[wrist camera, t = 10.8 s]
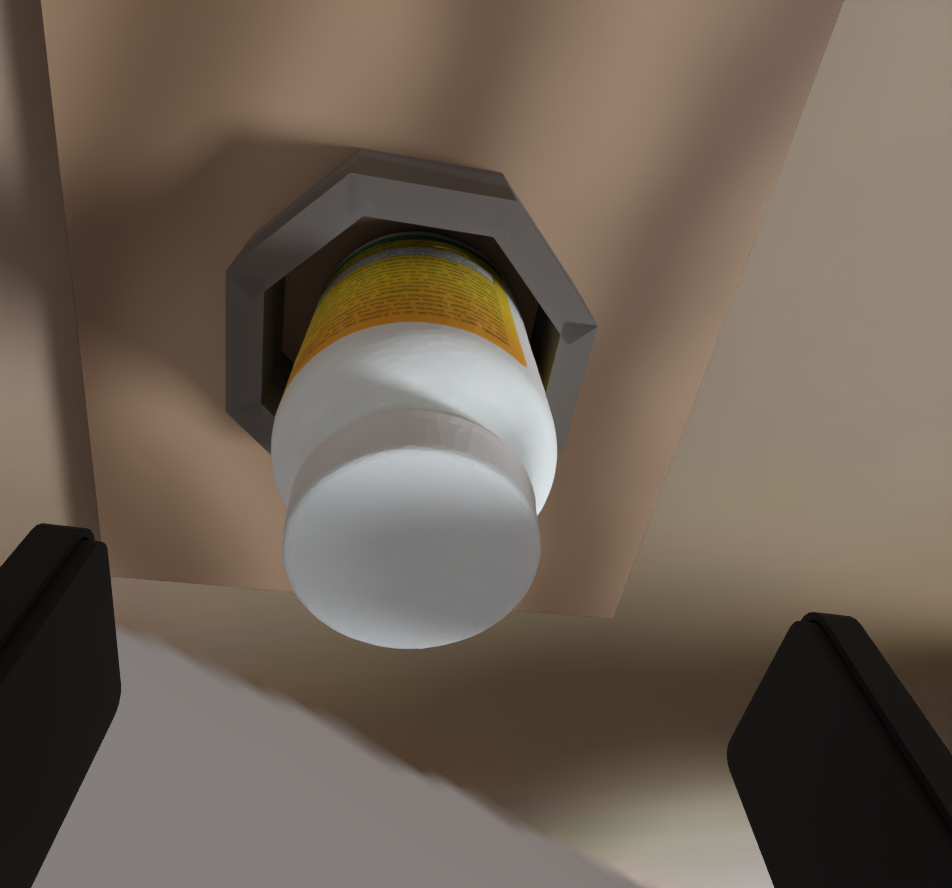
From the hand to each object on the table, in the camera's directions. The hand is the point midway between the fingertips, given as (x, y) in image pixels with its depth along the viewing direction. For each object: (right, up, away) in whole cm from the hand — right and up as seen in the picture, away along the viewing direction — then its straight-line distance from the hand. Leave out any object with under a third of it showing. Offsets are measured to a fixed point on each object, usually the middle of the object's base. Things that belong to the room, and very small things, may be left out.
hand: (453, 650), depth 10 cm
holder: (-2, +7, +10) cm, 13 cm away
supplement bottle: (-1, +6, +9) cm, 11 cm away
